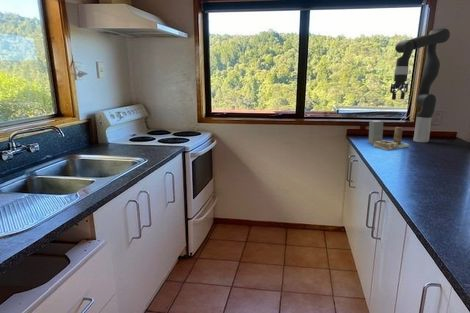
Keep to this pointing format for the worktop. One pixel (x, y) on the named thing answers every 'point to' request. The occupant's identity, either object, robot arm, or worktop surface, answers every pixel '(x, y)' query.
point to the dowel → (398, 135)
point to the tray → (403, 145)
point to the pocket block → (386, 145)
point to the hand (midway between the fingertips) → (397, 99)
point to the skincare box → (375, 131)
